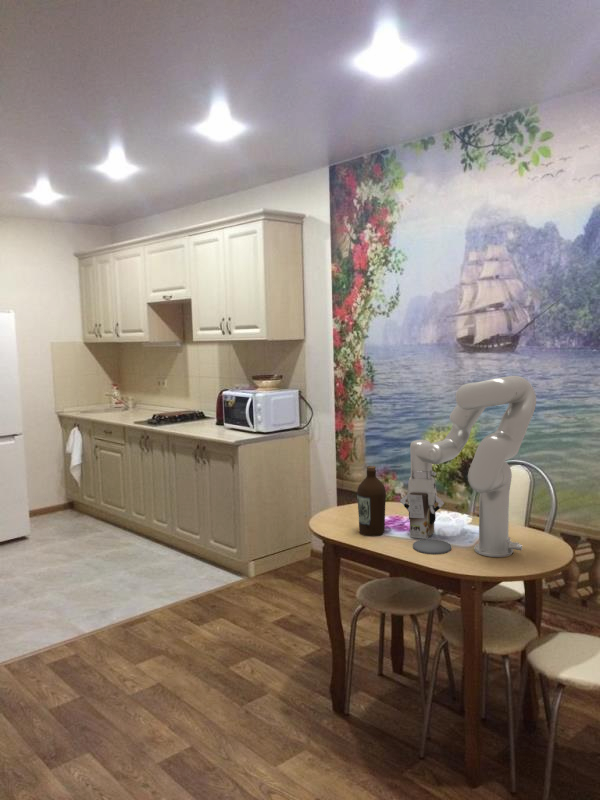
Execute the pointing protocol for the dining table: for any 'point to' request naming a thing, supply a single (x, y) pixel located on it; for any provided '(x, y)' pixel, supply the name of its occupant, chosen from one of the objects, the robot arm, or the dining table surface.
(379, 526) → the olive oil
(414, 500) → the coffee box
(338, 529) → the dining table surface
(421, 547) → the mat
